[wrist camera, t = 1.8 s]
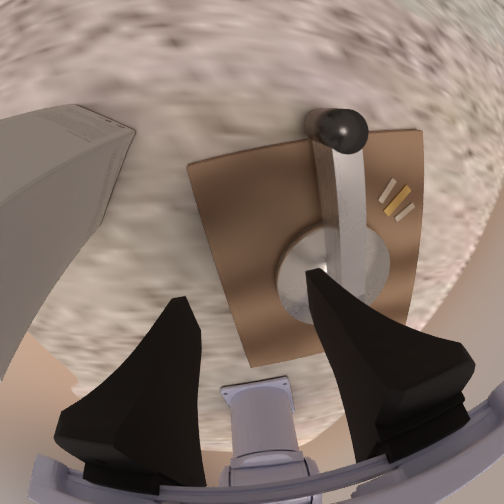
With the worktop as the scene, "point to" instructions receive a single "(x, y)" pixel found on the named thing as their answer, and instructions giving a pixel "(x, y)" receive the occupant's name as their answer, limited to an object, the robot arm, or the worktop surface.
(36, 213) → the skincare box
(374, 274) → the crank handle
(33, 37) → the worktop surface
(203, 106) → the worktop surface
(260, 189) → the walnut stand
